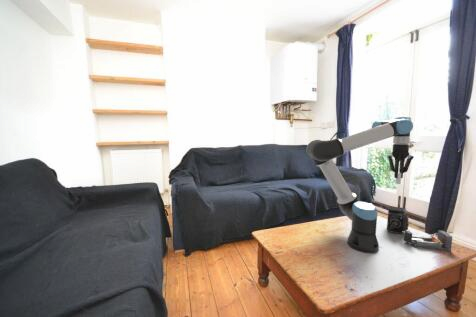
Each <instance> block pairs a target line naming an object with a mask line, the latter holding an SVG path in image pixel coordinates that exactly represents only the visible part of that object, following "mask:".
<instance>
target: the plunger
mask: <svg viewBox="0 0 476 317" xmlns="http://www.w3.org/2000/svg"><path fill="white" fill-rule="evenodd" d="M412 236H413V232H412V231H410V230H409V229H408V230H405V232H404V236H403V238H404V239H403V240H404V242H405V243H407V244H411V243H416V240H417V241H424V240H423V239H420V238H412Z"/></svg>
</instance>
